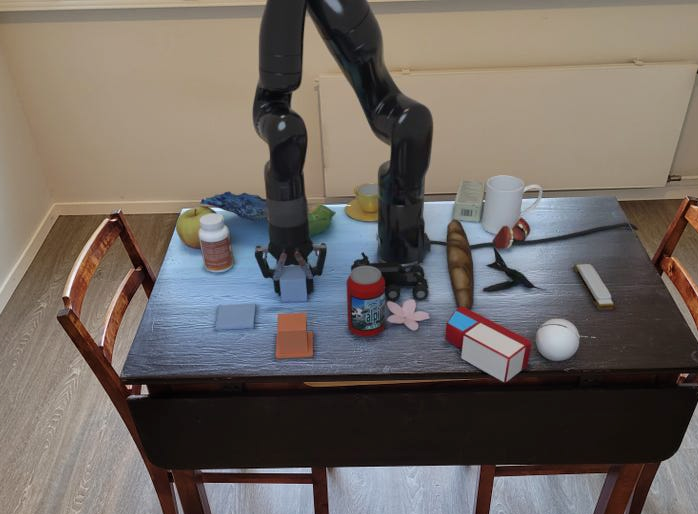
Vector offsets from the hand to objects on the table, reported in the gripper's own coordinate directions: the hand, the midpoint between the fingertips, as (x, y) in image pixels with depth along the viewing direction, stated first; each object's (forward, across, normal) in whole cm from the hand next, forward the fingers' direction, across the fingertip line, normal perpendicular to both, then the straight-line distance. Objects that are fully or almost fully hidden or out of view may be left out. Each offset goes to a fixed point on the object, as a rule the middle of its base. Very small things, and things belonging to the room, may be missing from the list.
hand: (294, 292), depth 138 cm
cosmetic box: (-2, +38, +26) cm, 46 cm away
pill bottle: (+1, -16, +12) cm, 20 cm away
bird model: (-1, +44, +7) cm, 44 cm away
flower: (+1, +21, -10) cm, 23 cm away
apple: (0, -20, +21) cm, 29 cm away
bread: (0, +34, +6) cm, 34 cm away
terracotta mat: (0, 0, -16) cm, 17 cm away
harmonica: (+1, +58, -3) cm, 59 cm away
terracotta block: (0, 0, -16) cm, 17 cm away
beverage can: (+1, +13, -12) cm, 18 cm away
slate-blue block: (0, 0, 0) cm, 0 cm away
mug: (0, +48, +22) cm, 53 cm away
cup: (+1, +17, +33) cm, 38 cm away
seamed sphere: (-3, +44, -27) cm, 52 cm away
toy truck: (-2, +35, -19) cm, 40 cm away
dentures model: (-2, +43, +12) cm, 45 cm away
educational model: (-5, -5, +31) cm, 32 cm away
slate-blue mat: (0, -11, -7) cm, 13 cm away
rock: (-11, -11, +26) cm, 30 cm away
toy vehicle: (+1, +19, 0) cm, 19 cm away
